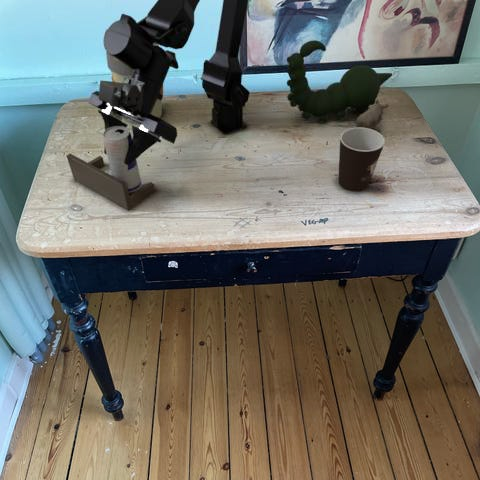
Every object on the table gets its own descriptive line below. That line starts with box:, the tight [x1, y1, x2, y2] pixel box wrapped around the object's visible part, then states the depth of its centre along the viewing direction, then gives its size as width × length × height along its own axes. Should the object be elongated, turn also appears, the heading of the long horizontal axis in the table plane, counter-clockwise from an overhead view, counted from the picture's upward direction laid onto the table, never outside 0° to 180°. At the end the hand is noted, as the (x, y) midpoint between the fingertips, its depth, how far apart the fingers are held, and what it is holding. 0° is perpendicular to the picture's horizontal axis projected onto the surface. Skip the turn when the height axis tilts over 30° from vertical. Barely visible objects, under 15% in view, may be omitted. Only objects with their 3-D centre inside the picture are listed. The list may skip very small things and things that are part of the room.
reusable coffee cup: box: [105, 43, 164, 123], centre depth 116 cm, size 12×12×15 cm
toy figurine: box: [286, 40, 393, 123], centre depth 114 cm, size 9×19×25 cm
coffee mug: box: [337, 127, 386, 193], centre depth 100 cm, size 12×9×10 cm
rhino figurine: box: [355, 99, 389, 131], centre depth 114 cm, size 4×14×6 cm, turn 145°
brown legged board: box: [66, 153, 156, 211], centre depth 101 cm, size 8×17×6 cm, turn 52°
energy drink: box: [102, 126, 142, 194], centre depth 97 cm, size 5×5×12 cm
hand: (116, 159), depth 95 cm, fingers closed on energy drink, 5 cm apart
